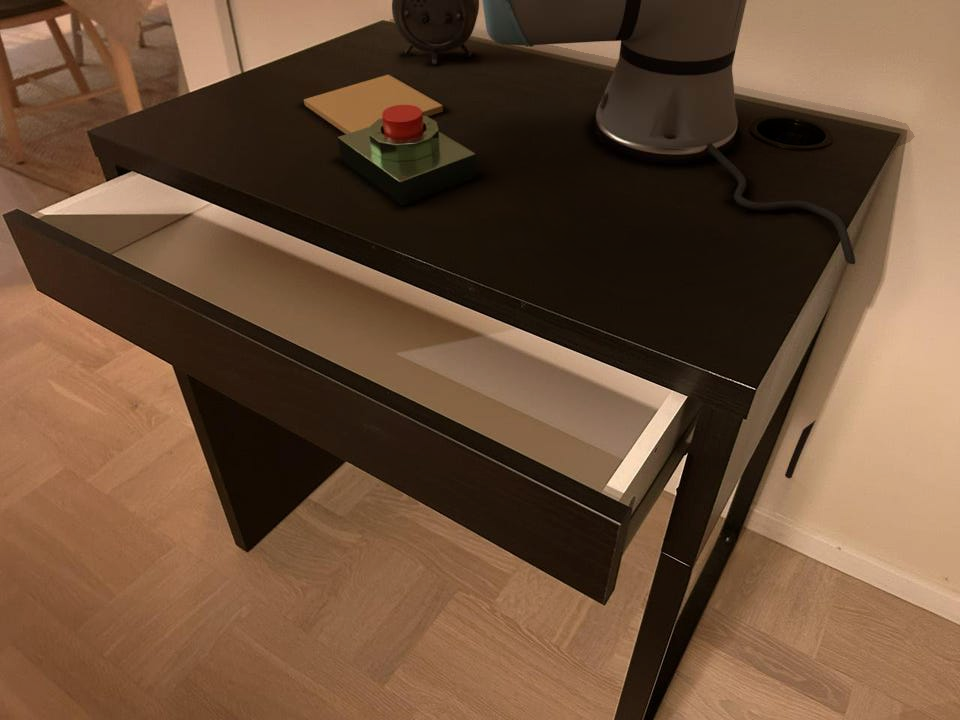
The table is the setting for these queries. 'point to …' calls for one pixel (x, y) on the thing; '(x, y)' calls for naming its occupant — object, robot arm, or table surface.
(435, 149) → the control box
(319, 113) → the cork mat
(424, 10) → the alarm clock
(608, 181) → the table surface
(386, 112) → the button
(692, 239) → the table surface
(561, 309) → the table surface
